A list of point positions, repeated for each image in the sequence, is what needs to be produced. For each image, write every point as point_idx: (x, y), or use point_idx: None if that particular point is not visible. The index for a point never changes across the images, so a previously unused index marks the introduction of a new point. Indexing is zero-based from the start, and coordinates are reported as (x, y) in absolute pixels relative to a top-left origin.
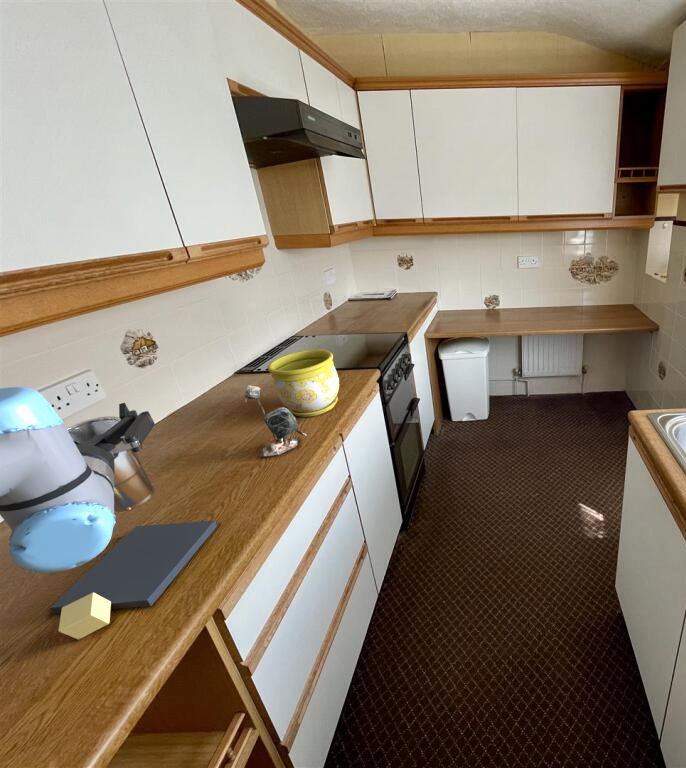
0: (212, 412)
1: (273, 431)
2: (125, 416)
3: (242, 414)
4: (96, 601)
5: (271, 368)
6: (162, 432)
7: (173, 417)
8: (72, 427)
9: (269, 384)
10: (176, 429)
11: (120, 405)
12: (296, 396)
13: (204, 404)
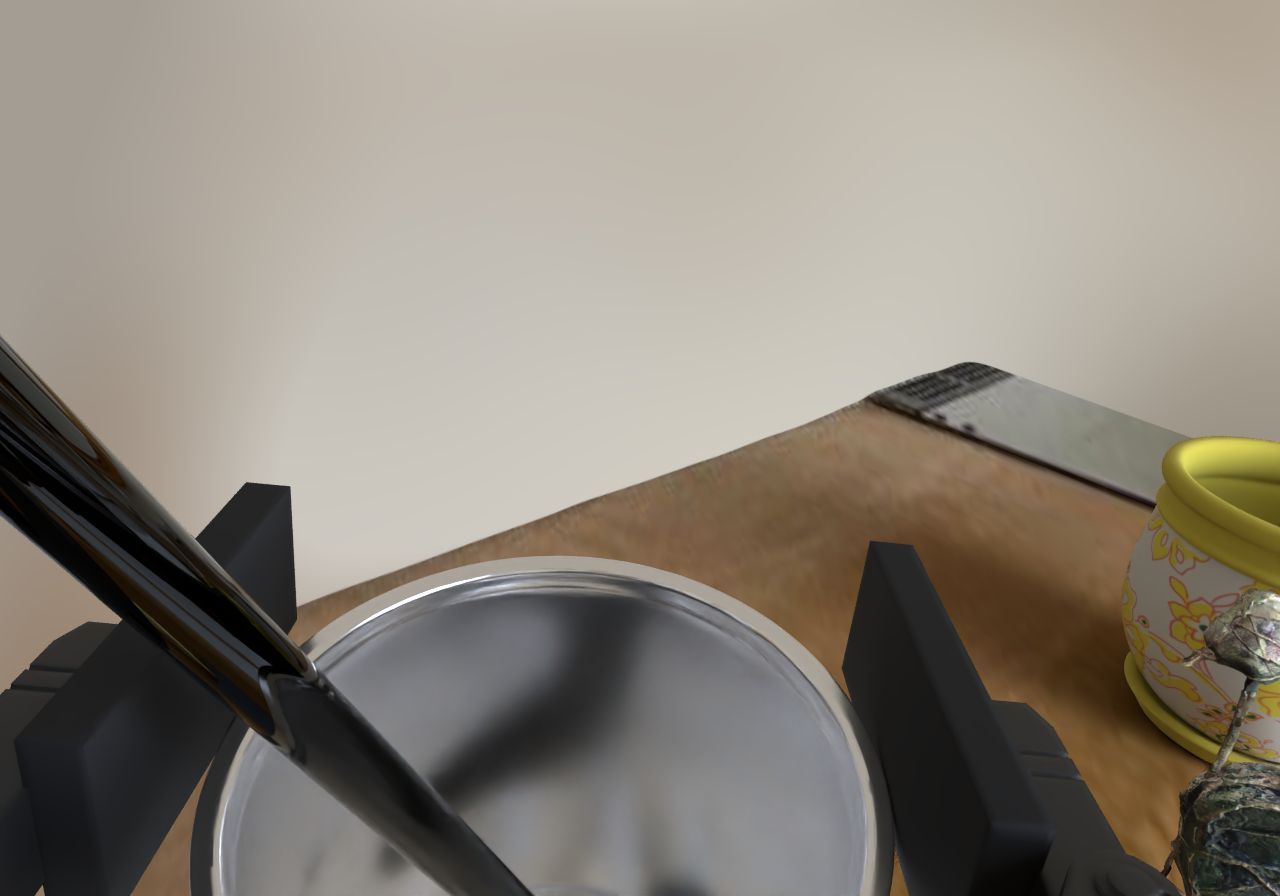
0: (804, 520)
1: (1205, 877)
2: (1046, 847)
3: None
4: None
5: (1200, 485)
6: (652, 524)
7: (689, 479)
8: (486, 581)
9: (987, 492)
10: (693, 535)
11: (892, 570)
12: None
13: (779, 474)
